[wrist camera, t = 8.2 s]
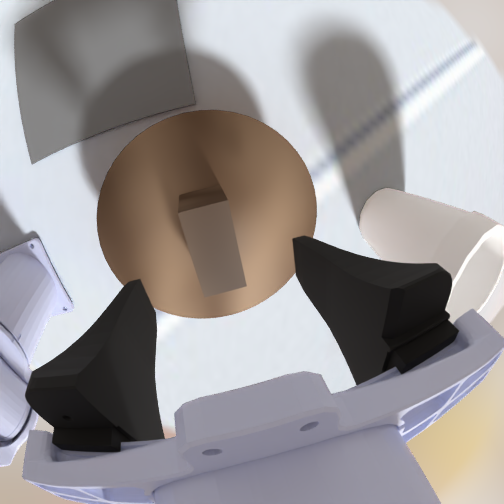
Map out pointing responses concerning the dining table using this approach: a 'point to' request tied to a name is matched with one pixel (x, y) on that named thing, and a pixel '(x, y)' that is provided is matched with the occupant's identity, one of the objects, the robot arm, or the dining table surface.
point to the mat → (97, 68)
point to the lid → (206, 213)
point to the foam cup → (437, 243)
